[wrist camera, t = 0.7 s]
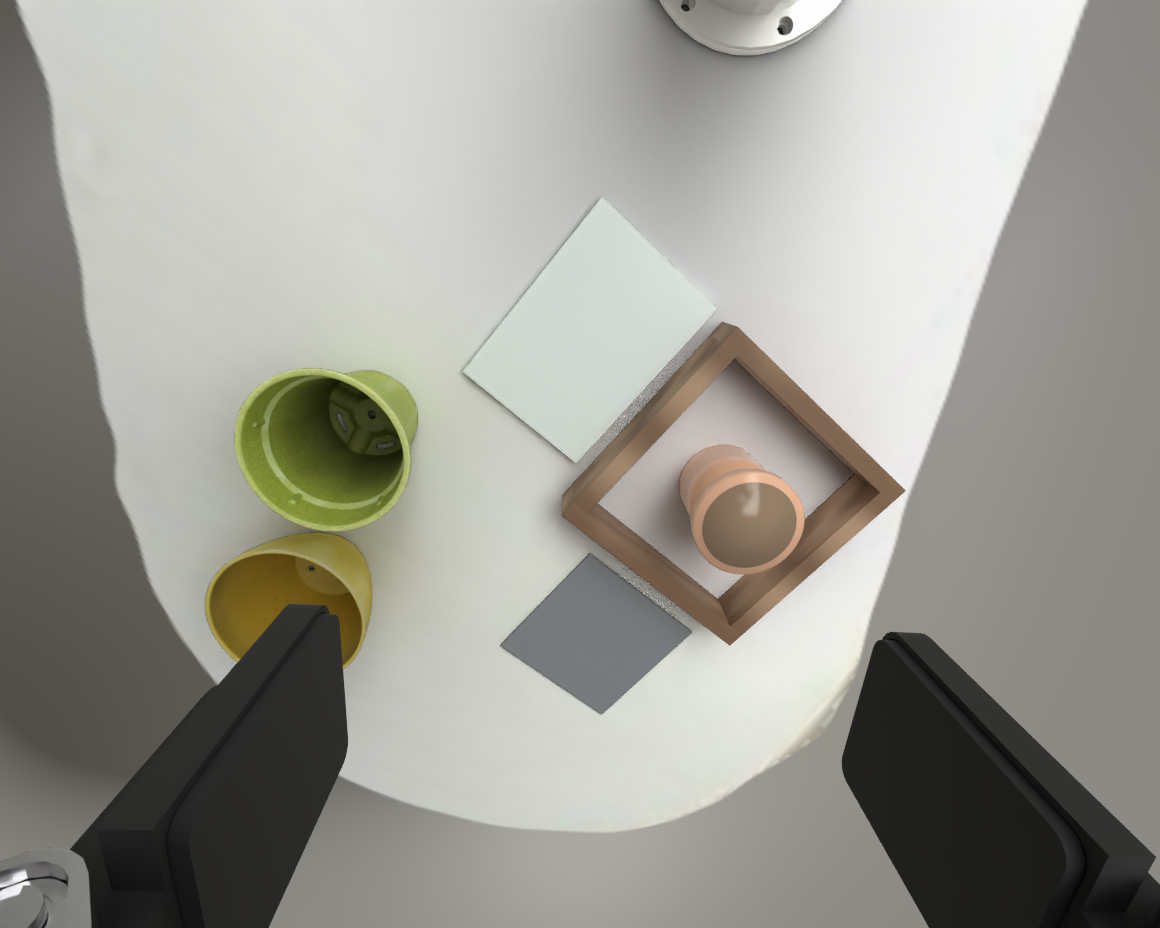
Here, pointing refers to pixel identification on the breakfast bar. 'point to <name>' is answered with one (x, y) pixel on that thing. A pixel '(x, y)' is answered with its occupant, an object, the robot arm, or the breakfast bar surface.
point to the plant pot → (327, 446)
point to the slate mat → (595, 635)
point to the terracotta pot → (739, 510)
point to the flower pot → (290, 590)
